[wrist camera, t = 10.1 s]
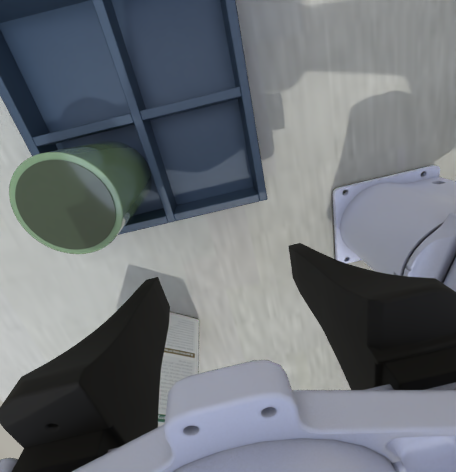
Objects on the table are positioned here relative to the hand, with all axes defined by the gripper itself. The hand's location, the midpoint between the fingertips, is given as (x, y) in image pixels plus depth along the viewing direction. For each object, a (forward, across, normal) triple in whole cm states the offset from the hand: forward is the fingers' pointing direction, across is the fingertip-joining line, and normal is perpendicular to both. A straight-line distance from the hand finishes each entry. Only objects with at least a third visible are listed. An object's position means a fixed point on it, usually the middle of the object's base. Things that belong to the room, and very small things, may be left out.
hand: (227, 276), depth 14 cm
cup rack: (+10, +4, -9) cm, 14 cm away
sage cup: (+10, +7, -5) cm, 13 cm away
